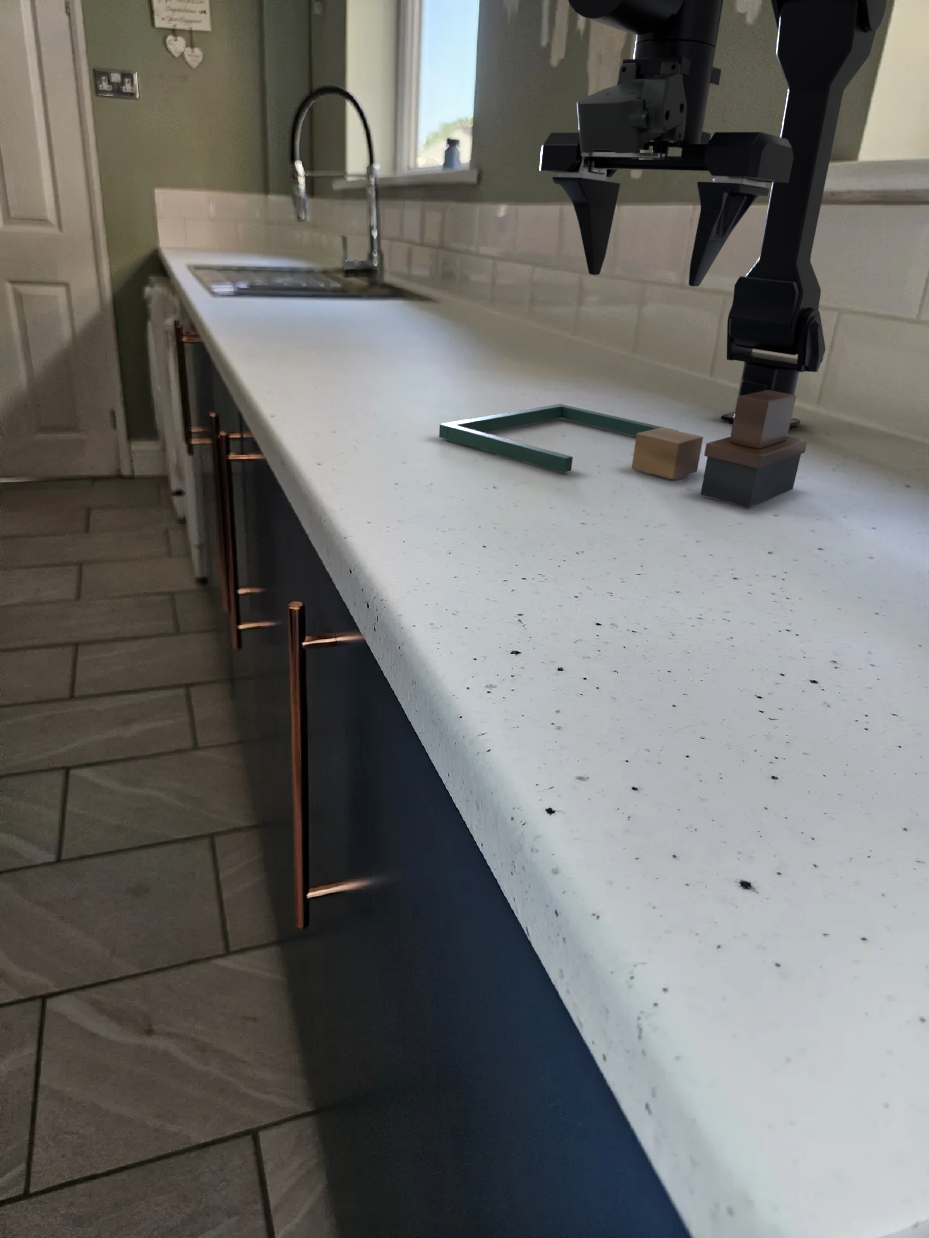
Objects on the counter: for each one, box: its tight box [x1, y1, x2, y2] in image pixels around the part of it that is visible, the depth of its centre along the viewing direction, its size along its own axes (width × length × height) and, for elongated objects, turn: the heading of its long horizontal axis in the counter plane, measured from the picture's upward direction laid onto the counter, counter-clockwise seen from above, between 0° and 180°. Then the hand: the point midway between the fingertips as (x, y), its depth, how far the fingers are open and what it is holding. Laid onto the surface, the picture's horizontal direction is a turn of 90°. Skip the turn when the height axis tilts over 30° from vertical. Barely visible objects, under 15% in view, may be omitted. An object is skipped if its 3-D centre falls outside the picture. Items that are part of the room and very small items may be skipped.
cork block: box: [631, 427, 704, 480], centre depth 72 cm, size 4×4×3 cm
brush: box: [700, 390, 808, 509], centre depth 67 cm, size 8×4×8 cm, turn 138°
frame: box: [438, 403, 679, 474], centre depth 80 cm, size 18×14×1 cm
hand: (642, 280), depth 69 cm, fingers open, 9 cm apart
